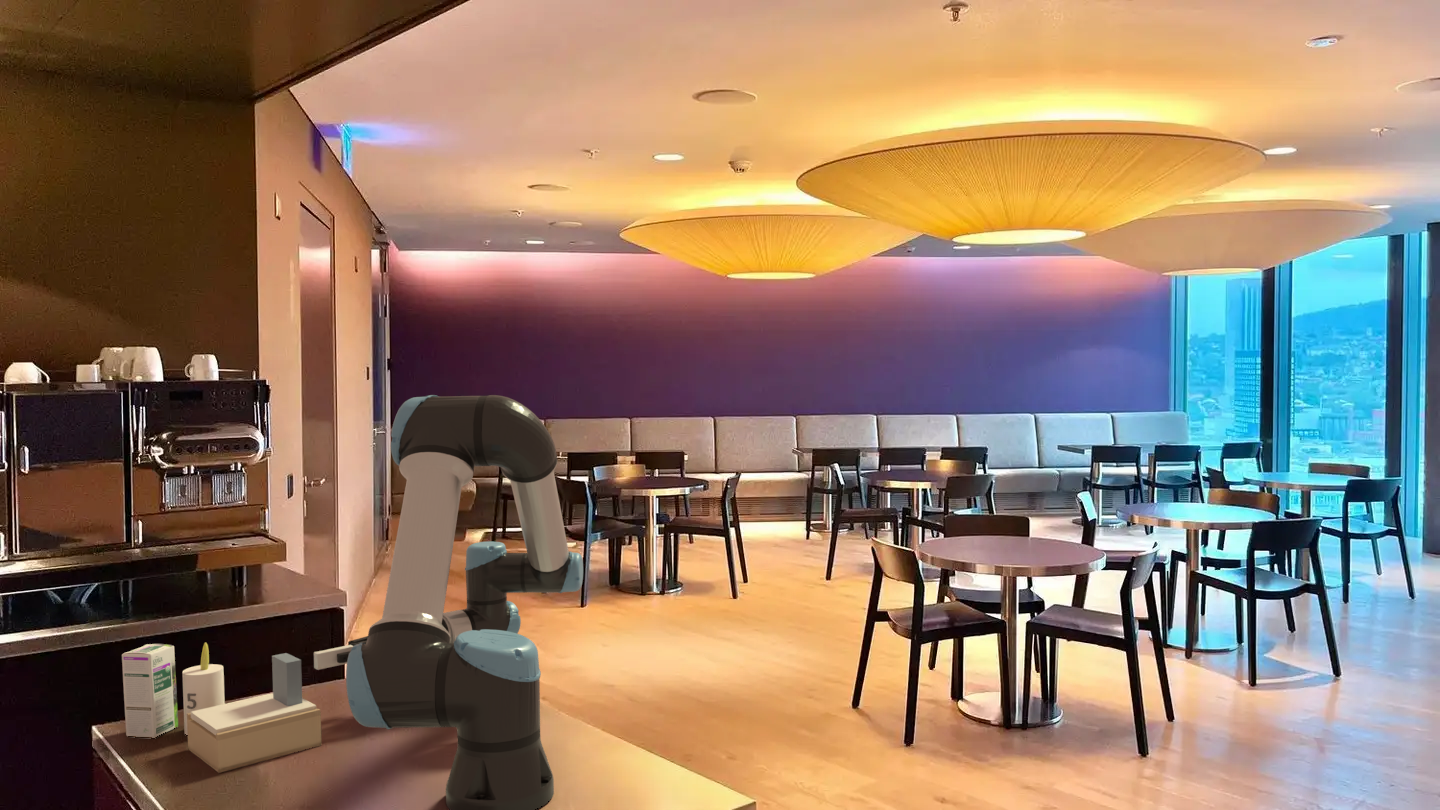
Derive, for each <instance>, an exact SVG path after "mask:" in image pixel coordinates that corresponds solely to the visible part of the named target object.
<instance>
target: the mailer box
mask: <svg viewBox="0 0 1440 810" xmlns="http://www.w3.org/2000/svg"><path fill="white" fill-rule="evenodd" d="M321 712H322V711H321V709H320V708H316V709H315V710H311V711H307V712H302V713H298V714H294V715H290V716H286V717H282V718H278V719H274V720H270V721H266V722H262V723H258V724H253V725H249V726H245V727H241V728H237V729H233V730H229V731H225V732H221V733H217V734H216V735H214V734H213V733H212V732H210V731H209V730H207V729H206V728H204V727H203V726H202V725H200V724H199V723H197V722H196V721H194V720H193V719H192V718H191V713H187V729H188V736H187V749H188V751H189V752H191V753H192V754H193V755H195V756H197V758H199V759H200V760H202V762H204V763H205V764H207V765H208V766H209V767H210V768H211V769H213V770H214V771H216V772H217V773H218V774H220V773H221V774H222V773H224V772H228V771H231V770H235V769H238V768H244V767H246V766H251V765H253V764H258V763H261V762H265V761H268V760H272V759H276V758H280V757H284V756H287V755H290V754H294V752H295V753H298V751H299V752H303V751H305V749H306V750H309V748H310V749H313V748H317V747H321V746H322V717H321V715H322V714H321ZM312 747H313V748H312Z"/></svg>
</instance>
